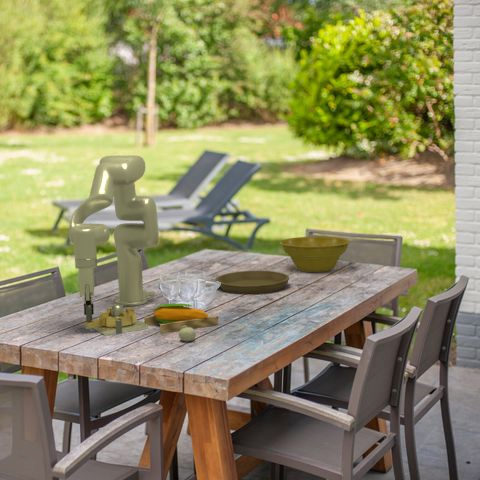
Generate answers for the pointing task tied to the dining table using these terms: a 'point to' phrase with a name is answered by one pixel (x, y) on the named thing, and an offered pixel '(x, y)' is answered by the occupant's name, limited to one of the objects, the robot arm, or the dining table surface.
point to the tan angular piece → (109, 318)
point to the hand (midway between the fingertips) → (89, 314)
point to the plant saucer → (252, 282)
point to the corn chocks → (182, 323)
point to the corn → (177, 313)
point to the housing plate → (120, 323)
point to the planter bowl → (315, 252)
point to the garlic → (187, 334)
